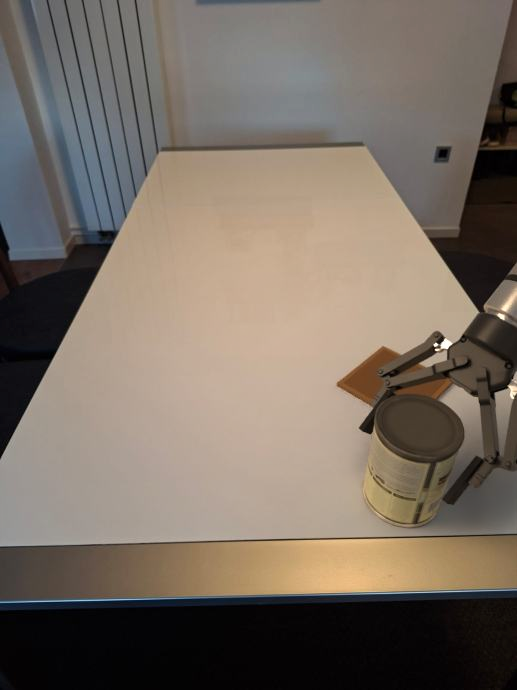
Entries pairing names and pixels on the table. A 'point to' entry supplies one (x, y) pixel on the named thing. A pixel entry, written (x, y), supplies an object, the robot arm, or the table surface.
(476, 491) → the table surface
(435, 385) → the cork mat
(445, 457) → the coffee can
